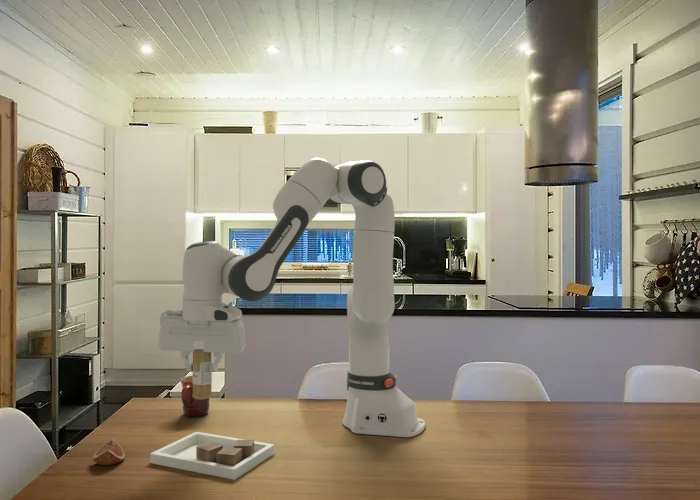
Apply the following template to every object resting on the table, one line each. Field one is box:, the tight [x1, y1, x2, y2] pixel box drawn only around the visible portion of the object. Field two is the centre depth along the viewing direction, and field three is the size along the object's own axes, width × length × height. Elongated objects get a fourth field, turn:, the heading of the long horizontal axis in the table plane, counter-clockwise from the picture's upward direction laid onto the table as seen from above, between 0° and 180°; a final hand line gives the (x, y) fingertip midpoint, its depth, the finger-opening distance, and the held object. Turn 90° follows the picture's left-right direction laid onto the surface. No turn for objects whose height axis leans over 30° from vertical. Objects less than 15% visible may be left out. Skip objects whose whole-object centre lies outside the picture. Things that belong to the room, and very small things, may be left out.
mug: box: [180, 375, 210, 418], centre depth 164 cm, size 12×9×10 cm
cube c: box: [234, 439, 255, 461], centre depth 128 cm, size 4×4×4 cm
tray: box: [149, 431, 275, 481], centre depth 130 cm, size 22×16×3 cm
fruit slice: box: [91, 436, 126, 466], centre depth 127 cm, size 8×7×5 cm
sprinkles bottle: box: [192, 341, 213, 399], centre depth 133 cm, size 5×5×14 cm
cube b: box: [196, 442, 223, 463], centre depth 126 cm, size 4×4×4 cm
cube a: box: [217, 447, 242, 466], centre depth 123 cm, size 4×4×4 cm
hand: (201, 370), depth 133 cm, fingers closed on sprinkles bottle, 4 cm apart
